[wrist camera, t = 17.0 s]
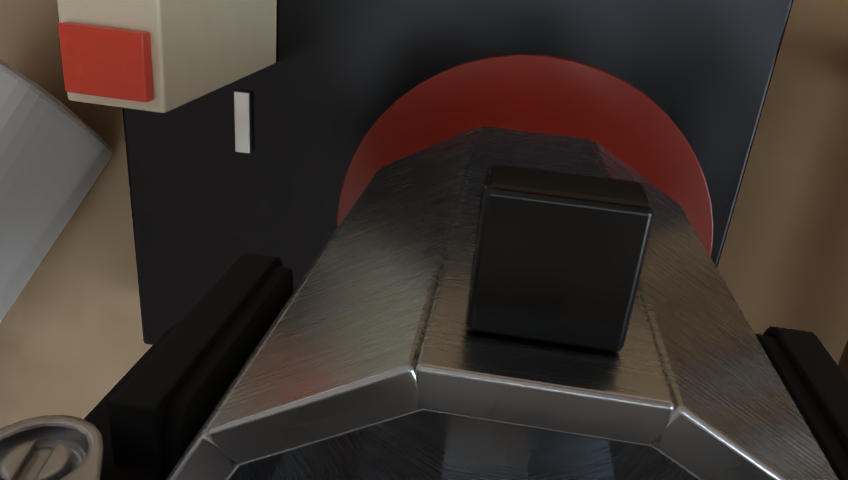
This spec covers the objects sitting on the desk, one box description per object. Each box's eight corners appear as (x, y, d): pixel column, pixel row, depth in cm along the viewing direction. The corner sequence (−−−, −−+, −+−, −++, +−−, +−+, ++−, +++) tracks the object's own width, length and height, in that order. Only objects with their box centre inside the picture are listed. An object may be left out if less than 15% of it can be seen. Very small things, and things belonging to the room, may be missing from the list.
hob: (813, -221, 14) (871, -256, 11) (656, 372, 20) (673, 433, 17) (98, -268, 15) (17, -308, 13) (147, 295, 21) (97, 340, 19)
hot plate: (757, 76, 14) (762, 79, 13) (662, 417, 17) (664, 424, 17) (346, 32, 15) (343, 33, 14) (333, 365, 18) (330, 371, 18)
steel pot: (776, 80, 10) (1177, 303, 4) (644, 535, 14) (739, 1029, 8) (331, 32, 11) (54, 156, 5) (318, 480, 15) (156, 892, 8)
